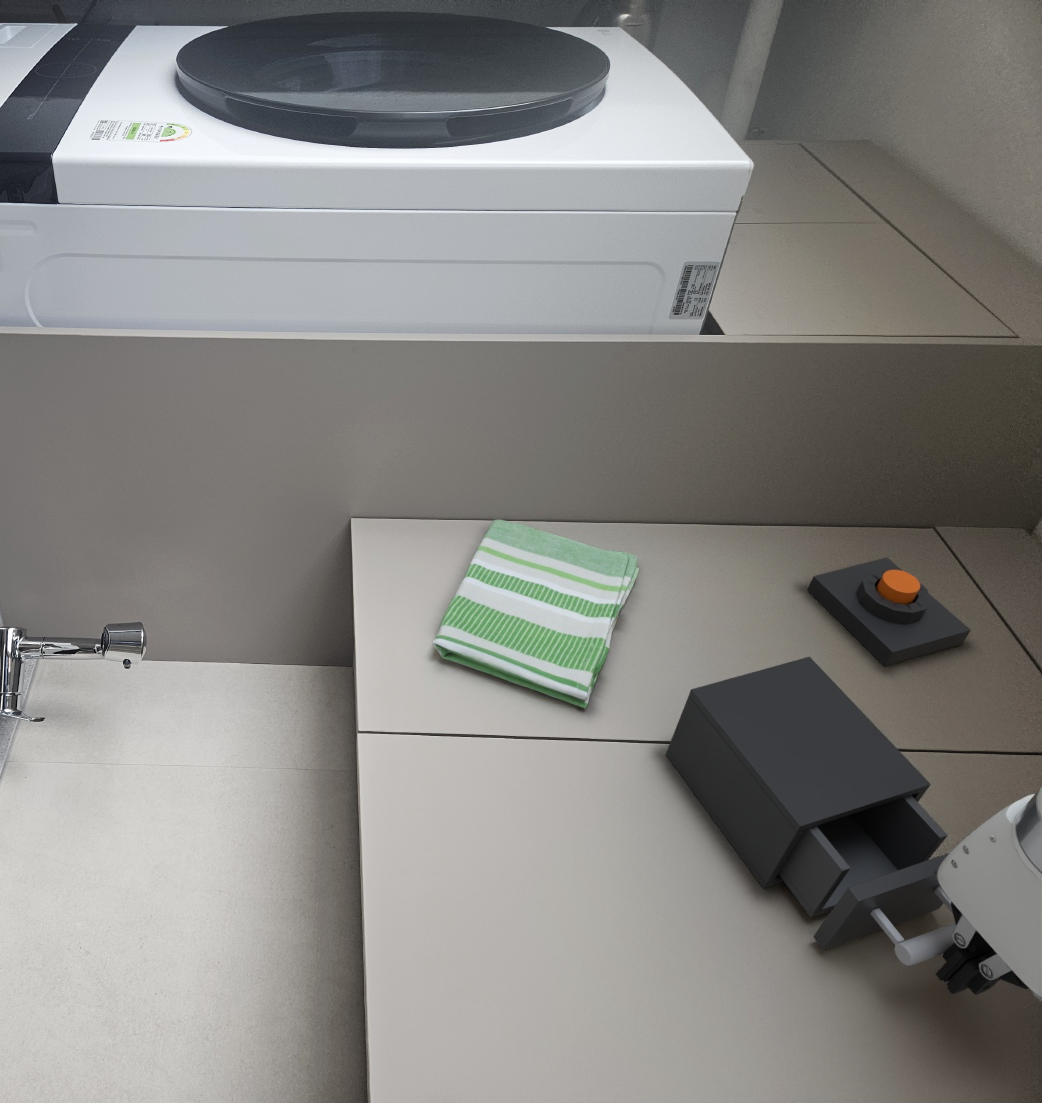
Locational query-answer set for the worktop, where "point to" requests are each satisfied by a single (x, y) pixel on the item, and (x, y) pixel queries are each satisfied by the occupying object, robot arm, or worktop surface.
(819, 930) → the dark grey drawer
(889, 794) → the dark grey drawer box
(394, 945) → the worktop surface
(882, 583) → the button
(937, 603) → the control block
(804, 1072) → the worktop surface
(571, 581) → the dish towel
